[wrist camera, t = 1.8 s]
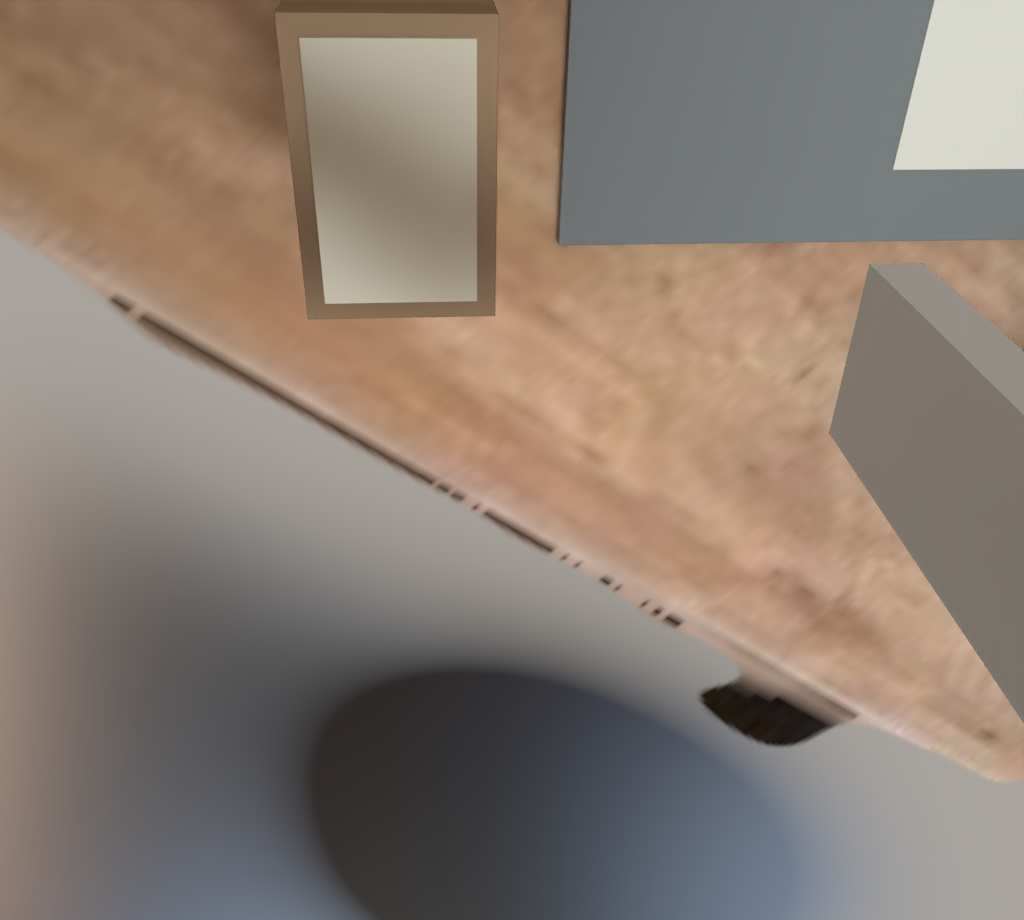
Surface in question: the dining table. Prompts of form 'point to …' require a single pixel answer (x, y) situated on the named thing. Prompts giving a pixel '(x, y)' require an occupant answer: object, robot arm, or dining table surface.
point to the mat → (792, 121)
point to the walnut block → (393, 154)
